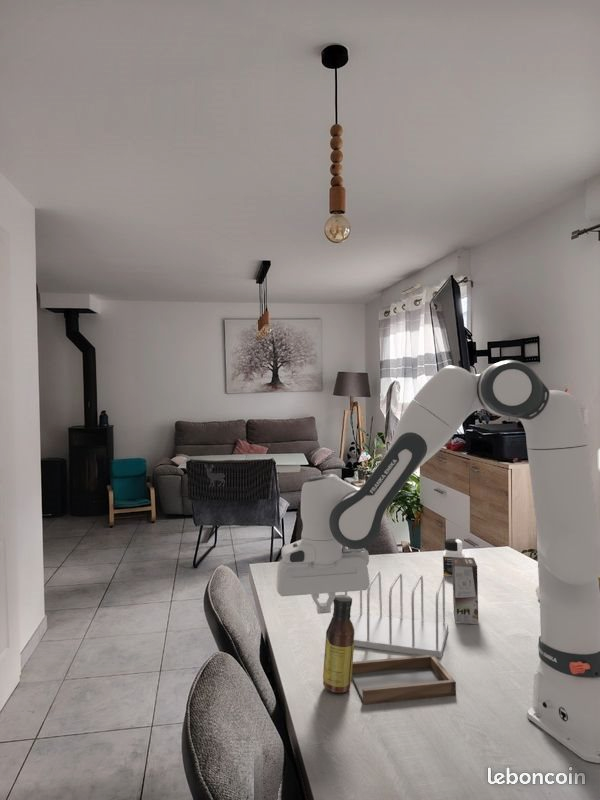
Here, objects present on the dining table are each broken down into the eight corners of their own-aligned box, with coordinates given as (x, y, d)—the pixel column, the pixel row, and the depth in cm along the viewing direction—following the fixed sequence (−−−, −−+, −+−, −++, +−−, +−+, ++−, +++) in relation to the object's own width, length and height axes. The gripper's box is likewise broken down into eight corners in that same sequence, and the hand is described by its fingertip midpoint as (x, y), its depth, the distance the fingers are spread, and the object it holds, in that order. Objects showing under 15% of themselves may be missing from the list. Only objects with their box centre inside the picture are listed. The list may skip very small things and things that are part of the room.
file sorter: (341, 645, 145) (339, 585, 145) (358, 620, 162) (356, 565, 162) (441, 658, 137) (439, 594, 137) (448, 630, 153) (446, 572, 153)
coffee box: (479, 624, 156) (477, 566, 156) (455, 623, 157) (453, 565, 157) (475, 612, 165) (474, 557, 164) (453, 611, 166) (451, 556, 166)
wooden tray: (456, 695, 119) (455, 681, 119) (363, 704, 117) (363, 690, 117) (433, 666, 132) (433, 654, 132) (350, 674, 130) (349, 662, 130)
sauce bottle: (333, 677, 128) (341, 589, 128) (356, 688, 124) (364, 597, 124) (315, 687, 123) (323, 595, 123) (338, 698, 119) (347, 604, 119)
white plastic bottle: (443, 575, 199) (442, 541, 199) (444, 569, 206) (443, 536, 206) (464, 577, 197) (463, 542, 197) (464, 571, 203) (463, 537, 203)
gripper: (364, 542, 127) (366, 603, 127) (274, 548, 125) (276, 610, 125) (372, 549, 121) (374, 614, 121) (277, 555, 118) (279, 621, 118)
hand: (323, 612), depth 123 cm, fingers closed
